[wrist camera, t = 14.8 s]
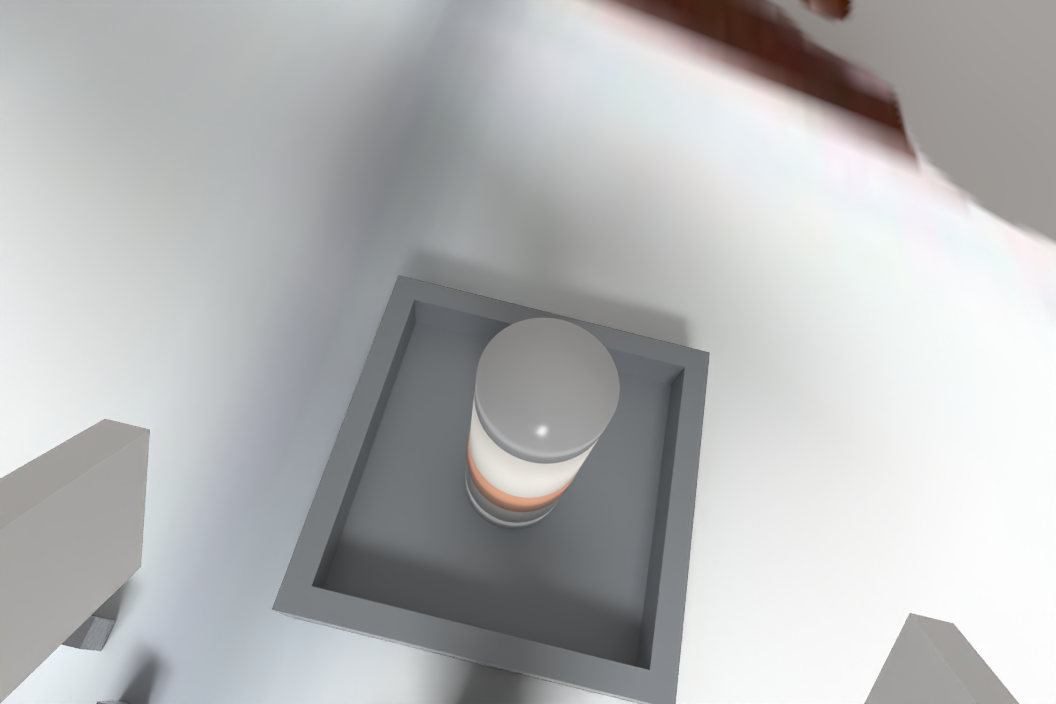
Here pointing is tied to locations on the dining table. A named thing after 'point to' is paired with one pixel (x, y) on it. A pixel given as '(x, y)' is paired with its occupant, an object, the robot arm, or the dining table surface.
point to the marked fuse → (535, 418)
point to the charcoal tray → (498, 553)
